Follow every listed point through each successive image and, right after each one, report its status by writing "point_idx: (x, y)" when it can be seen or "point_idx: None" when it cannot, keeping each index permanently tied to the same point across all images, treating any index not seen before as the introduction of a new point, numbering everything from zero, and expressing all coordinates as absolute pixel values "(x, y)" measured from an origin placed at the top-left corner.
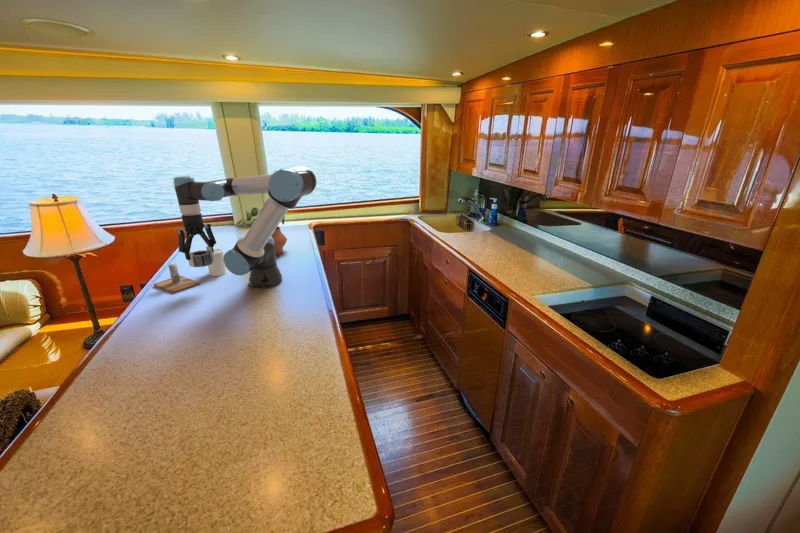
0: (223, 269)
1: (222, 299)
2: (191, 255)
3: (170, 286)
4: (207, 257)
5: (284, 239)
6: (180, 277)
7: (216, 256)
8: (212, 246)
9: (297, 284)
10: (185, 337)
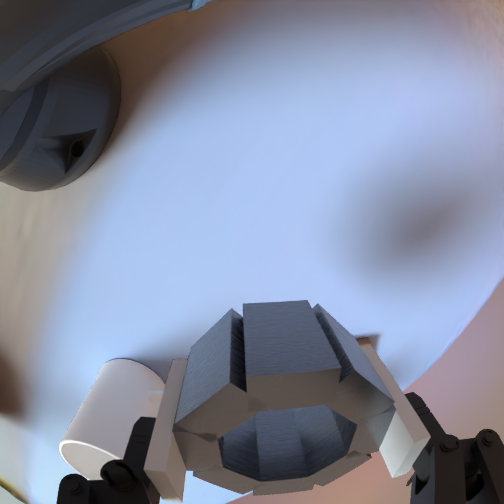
0: (111, 374)
1: (303, 91)
2: (410, 416)
3: None
4: (272, 348)
5: None
6: None
7: (107, 434)
8: (129, 465)
9: None
10: (481, 24)
